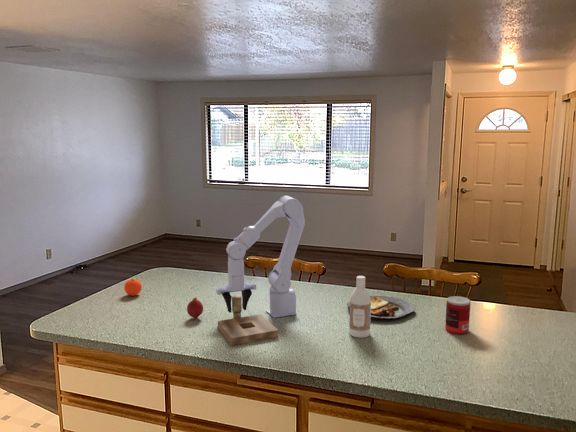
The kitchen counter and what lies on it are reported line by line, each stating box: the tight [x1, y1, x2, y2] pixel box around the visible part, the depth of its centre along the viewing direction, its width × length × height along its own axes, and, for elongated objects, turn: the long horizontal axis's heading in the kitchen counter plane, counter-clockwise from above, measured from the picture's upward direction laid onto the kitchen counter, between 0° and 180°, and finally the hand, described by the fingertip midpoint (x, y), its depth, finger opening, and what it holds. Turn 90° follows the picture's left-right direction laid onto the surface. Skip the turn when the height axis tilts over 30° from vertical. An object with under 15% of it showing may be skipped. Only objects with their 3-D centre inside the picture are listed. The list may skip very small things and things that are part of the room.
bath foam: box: [348, 275, 372, 339], centre depth 167 cm, size 7×7×20 cm
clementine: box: [124, 278, 143, 296], centre depth 210 cm, size 8×7×7 cm
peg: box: [231, 295, 243, 319], centre depth 183 cm, size 3×3×8 cm
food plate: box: [347, 294, 416, 320], centre depth 191 cm, size 25×23×4 cm
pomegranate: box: [186, 296, 204, 319], centre depth 183 cm, size 6×6×8 cm
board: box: [217, 313, 279, 347], centre depth 171 cm, size 16×16×2 cm
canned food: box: [444, 295, 471, 336], centre depth 171 cm, size 8×8×11 cm
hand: (236, 310), depth 183 cm, fingers open, 5 cm apart
